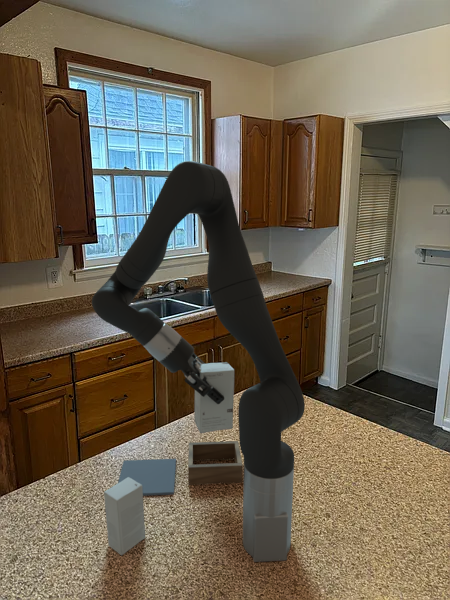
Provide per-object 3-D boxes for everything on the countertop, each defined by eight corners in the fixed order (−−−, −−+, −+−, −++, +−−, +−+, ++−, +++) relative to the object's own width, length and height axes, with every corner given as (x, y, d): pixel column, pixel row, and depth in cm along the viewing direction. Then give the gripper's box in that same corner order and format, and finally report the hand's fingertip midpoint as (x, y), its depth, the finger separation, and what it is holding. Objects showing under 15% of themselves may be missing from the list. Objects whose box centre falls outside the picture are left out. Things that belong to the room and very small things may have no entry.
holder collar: (242, 482, 105) (242, 465, 104) (188, 484, 104) (188, 467, 103) (238, 456, 115) (238, 440, 114) (189, 458, 114) (188, 442, 113)
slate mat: (173, 494, 101) (173, 492, 101) (115, 496, 100) (114, 494, 100) (176, 460, 113) (176, 458, 113) (123, 462, 112) (123, 460, 112)
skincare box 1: (131, 528, 91) (129, 475, 88) (146, 538, 88) (143, 484, 85) (106, 545, 86) (102, 491, 83) (120, 557, 83) (117, 501, 81)
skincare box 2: (199, 434, 102) (199, 373, 99) (193, 422, 108) (192, 363, 105) (234, 429, 105) (235, 369, 101) (227, 417, 110) (227, 360, 107)
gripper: (179, 346, 94) (234, 396, 97) (181, 326, 108) (229, 371, 111) (154, 370, 95) (210, 419, 98) (159, 348, 109) (208, 391, 112)
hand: (220, 393), depth 105 cm, fingers closed on skincare box 2, 6 cm apart
